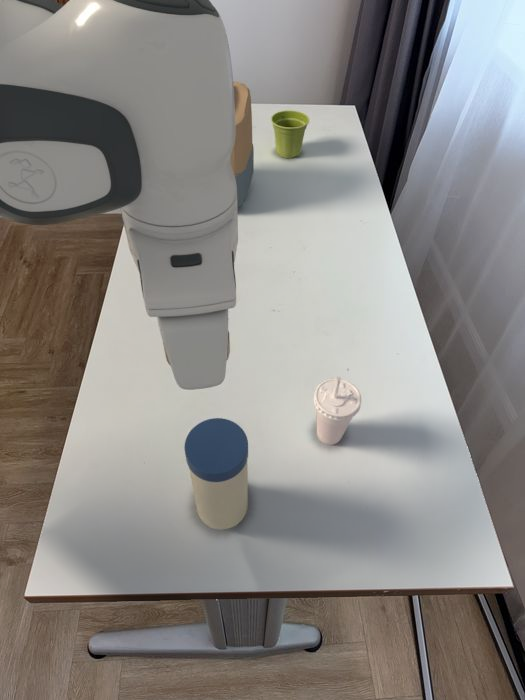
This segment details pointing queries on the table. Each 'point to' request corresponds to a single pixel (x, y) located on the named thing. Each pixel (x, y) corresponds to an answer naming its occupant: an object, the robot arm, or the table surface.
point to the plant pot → (289, 132)
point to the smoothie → (335, 408)
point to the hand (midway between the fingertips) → (196, 340)
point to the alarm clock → (242, 142)
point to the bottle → (218, 471)
